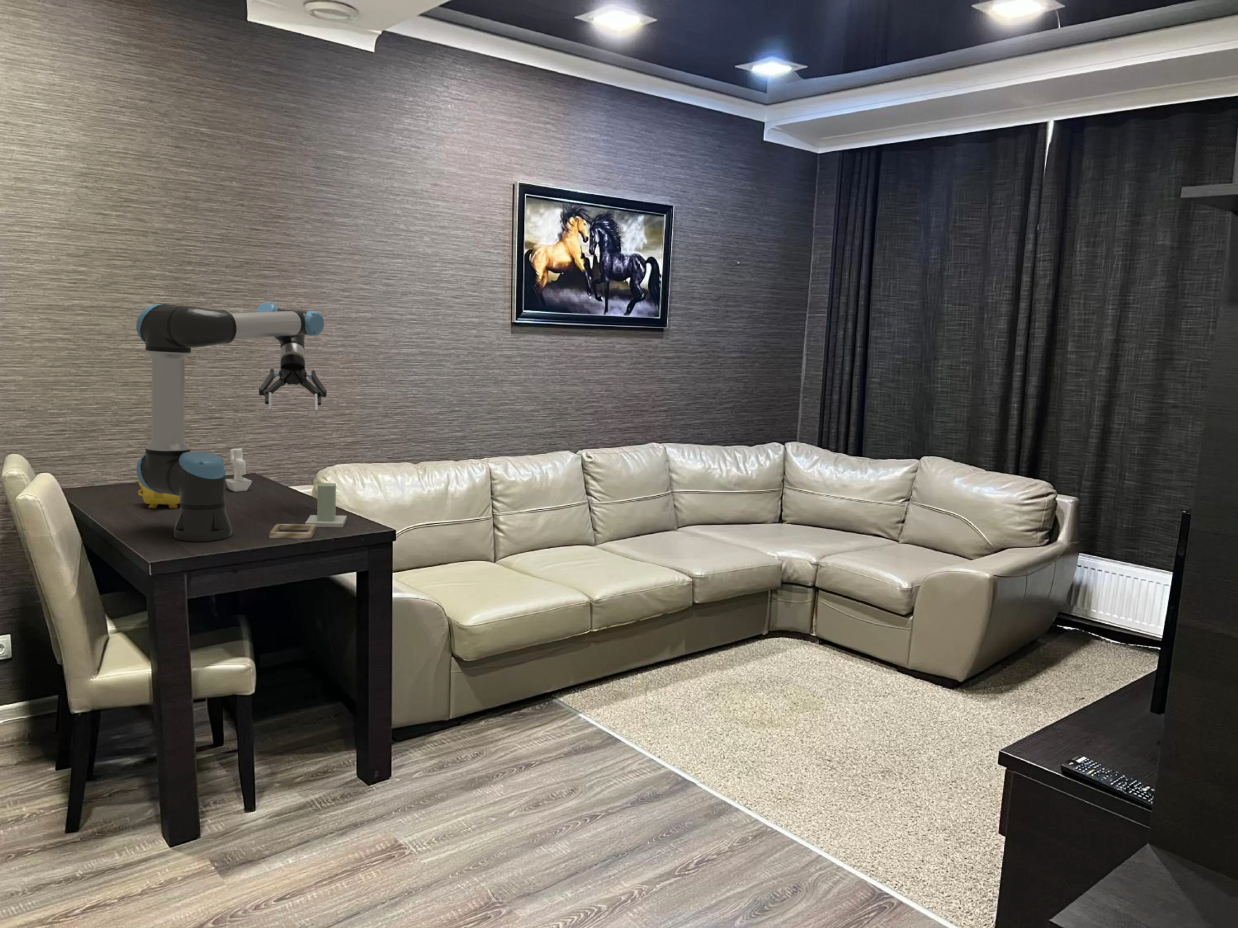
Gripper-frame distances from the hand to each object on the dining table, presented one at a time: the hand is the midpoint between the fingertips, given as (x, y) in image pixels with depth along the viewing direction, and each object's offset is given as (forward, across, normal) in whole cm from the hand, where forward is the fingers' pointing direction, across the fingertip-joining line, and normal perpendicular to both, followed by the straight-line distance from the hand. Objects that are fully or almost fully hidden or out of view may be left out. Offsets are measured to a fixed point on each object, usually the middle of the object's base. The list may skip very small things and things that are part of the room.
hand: (293, 412), depth 284 cm
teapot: (+9, +37, -39) cm, 55 cm away
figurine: (-9, +18, -56) cm, 60 cm away
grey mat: (+30, -10, -17) cm, 36 cm away
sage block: (+29, -10, -17) cm, 35 cm away
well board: (+39, 0, -8) cm, 40 cm away
